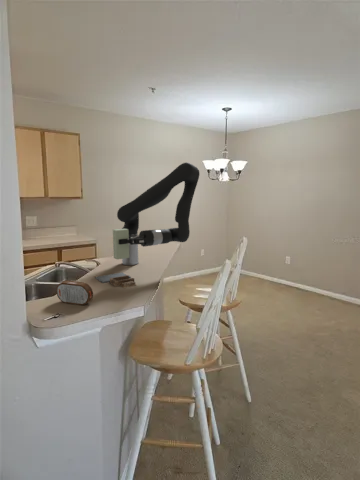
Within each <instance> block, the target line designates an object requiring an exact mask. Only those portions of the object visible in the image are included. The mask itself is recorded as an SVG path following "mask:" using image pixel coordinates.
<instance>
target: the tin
mask: <svg viewBox="0 0 360 480" xmlns="http://www.w3.org/2000/svg"><path fill="white" fill-rule="evenodd" d="M55 292H56V296H57V298H58V299H59V301H61V302H62V303H65V304H71V305H78V306H85V305H87V304H89V303H90V302H92V300H93V298H94V292H93V288H92V287H91V286H90V285H89V284H88V283H87V282H84V281H76V280H75V281H74V280H69V279H67V280H63V281H62V282H60V283H59V284H57V285H56V288H55Z"/></svg>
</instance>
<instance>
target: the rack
mask: <svg viewBox="0 0 360 480" xmlns="http://www.w3.org/2000/svg"><path fill="white" fill-rule="evenodd" d="M129 276H130V275H128V274H126V275H125V276H120V277H114V278H110V282H109V283H110V284H112V285H113V286H114V287H119V286H120V287H121V285H122V283H125V282H130V281H133V282H135V278H134V277H131V278H129Z"/></svg>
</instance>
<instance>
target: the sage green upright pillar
mask: <svg viewBox="0 0 360 480" xmlns="http://www.w3.org/2000/svg"><path fill="white" fill-rule="evenodd" d="M127 238H129V231H128V229H122V228H118V229H112V243H113V259H115V260H122V259H124V258H129V244H119V239H127Z"/></svg>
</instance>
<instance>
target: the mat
mask: <svg viewBox="0 0 360 480" xmlns="http://www.w3.org/2000/svg"><path fill="white" fill-rule="evenodd" d="M125 275H127V274H126V273H124V272H117V273H111V274H106V275H105V274H104V275H99V276H95V279H96V280H97V281H99V282H100V283H102V284H106V283H110V278H114V277H120V276H125ZM128 276H129V279H130V278H132V277H131V276H130V275H128Z"/></svg>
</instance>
